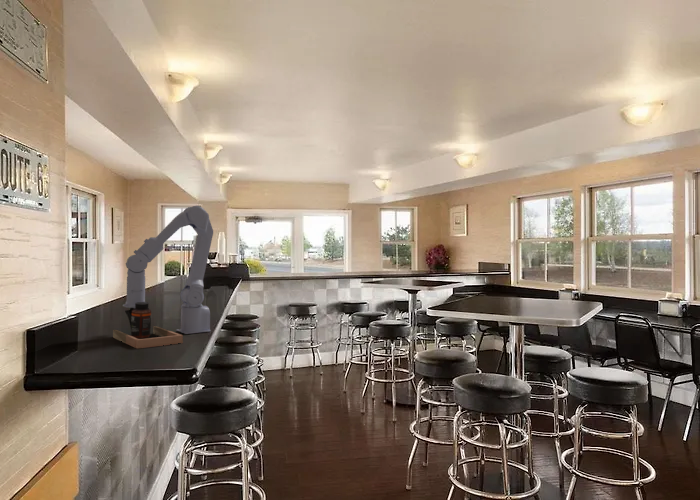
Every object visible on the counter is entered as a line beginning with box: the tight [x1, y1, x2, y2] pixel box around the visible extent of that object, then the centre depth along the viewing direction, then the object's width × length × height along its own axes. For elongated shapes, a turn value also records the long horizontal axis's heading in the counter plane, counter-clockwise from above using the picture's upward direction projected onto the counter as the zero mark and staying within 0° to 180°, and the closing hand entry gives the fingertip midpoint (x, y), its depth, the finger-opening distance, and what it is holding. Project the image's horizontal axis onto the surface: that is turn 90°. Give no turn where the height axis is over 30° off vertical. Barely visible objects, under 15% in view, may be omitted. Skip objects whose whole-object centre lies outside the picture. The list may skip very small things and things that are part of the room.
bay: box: [112, 325, 184, 350], centre depth 164 cm, size 14×22×2 cm, turn 42°
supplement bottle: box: [130, 301, 152, 339], centre depth 168 cm, size 6×6×11 cm
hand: (135, 331), depth 172 cm, fingers closed
